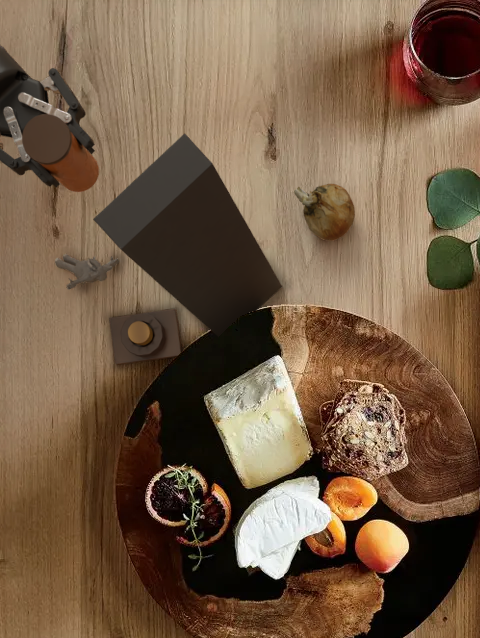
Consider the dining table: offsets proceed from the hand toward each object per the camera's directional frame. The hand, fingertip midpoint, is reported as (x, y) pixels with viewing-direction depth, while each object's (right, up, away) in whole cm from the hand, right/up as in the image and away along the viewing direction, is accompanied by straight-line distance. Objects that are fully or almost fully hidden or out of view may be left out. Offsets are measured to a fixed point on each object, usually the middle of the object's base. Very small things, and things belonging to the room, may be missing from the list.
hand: (73, 166), depth 105 cm
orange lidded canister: (-2, +2, +6) cm, 6 cm away
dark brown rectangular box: (+15, -9, +18) cm, 25 cm away
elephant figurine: (-4, -9, +18) cm, 21 cm away
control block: (+4, -18, +18) cm, 26 cm away
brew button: (+4, -18, +16) cm, 24 cm away
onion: (+32, -1, +17) cm, 36 cm away
